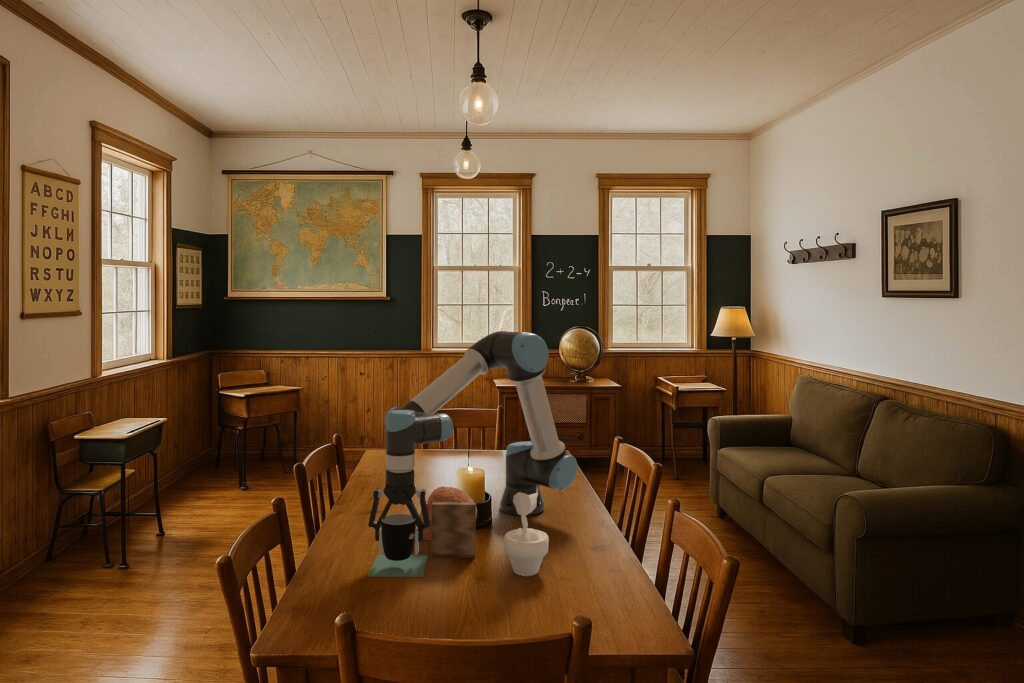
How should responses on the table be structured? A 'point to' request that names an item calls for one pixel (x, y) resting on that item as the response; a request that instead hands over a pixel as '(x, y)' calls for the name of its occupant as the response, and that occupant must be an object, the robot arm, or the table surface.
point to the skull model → (443, 496)
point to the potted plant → (525, 539)
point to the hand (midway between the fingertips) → (399, 552)
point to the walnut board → (453, 530)
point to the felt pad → (399, 567)
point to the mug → (398, 536)
